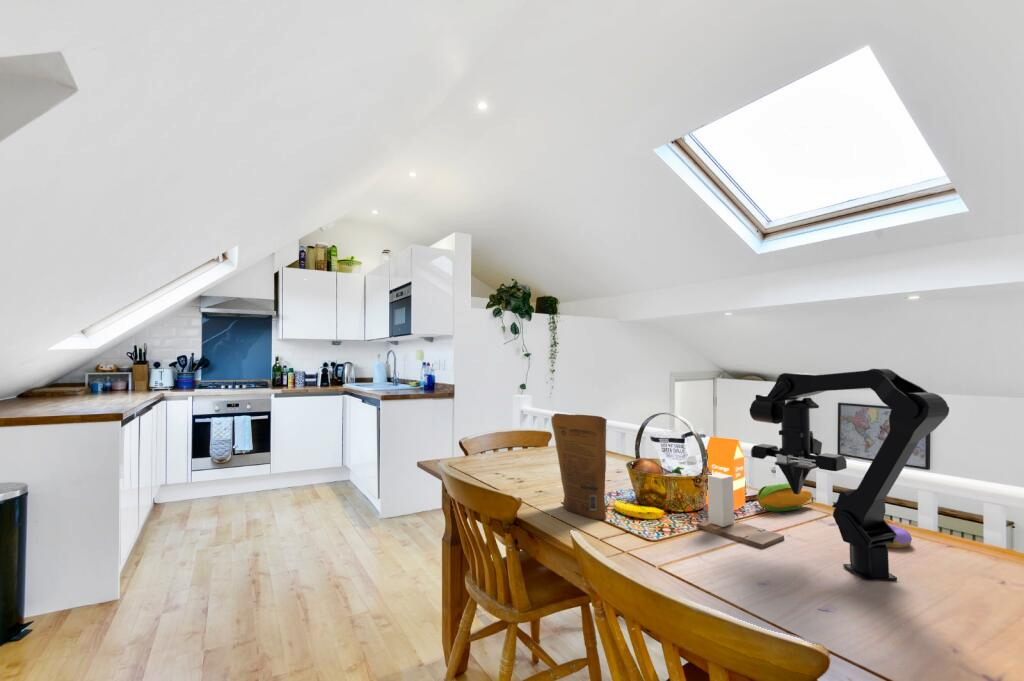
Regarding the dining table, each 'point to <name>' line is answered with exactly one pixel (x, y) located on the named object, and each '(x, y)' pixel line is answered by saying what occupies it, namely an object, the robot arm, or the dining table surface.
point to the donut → (900, 538)
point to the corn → (781, 498)
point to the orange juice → (728, 465)
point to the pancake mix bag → (582, 462)
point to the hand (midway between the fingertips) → (796, 493)
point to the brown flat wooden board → (744, 533)
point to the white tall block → (720, 499)
